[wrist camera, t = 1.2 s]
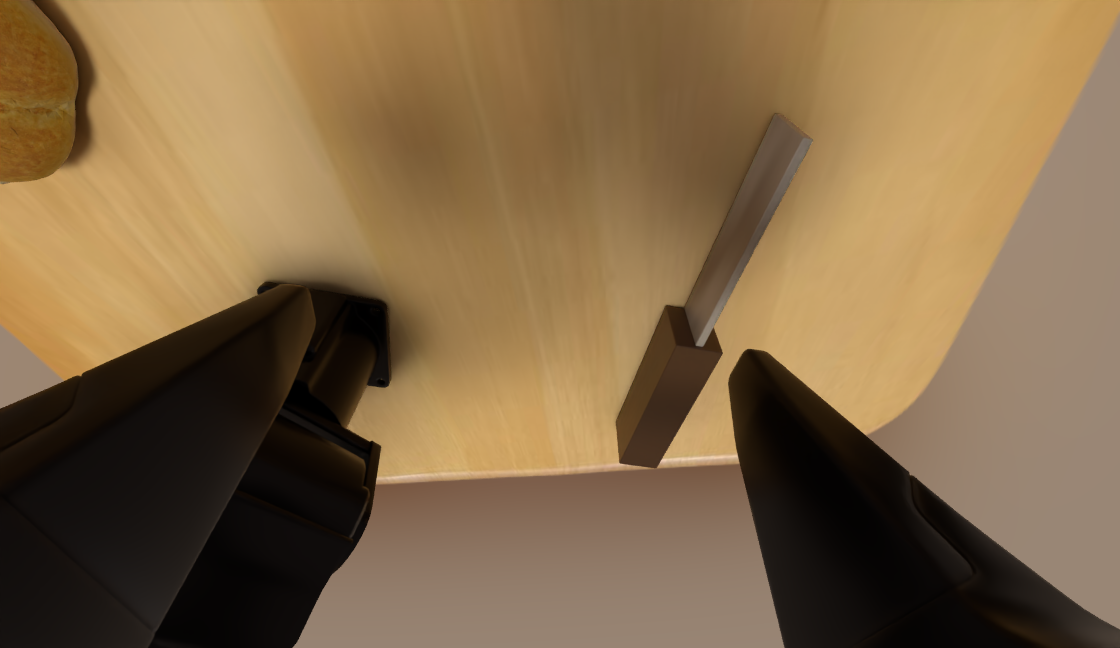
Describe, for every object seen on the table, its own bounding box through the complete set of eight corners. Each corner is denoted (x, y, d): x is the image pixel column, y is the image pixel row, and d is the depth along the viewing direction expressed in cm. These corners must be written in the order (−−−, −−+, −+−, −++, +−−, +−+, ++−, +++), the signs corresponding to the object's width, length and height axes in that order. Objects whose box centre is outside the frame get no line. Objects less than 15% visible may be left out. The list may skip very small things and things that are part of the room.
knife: (650, 427, 31) (656, 469, 29) (615, 422, 31) (619, 463, 28) (807, 120, 19) (843, 147, 16) (751, 107, 18) (778, 133, 16)
